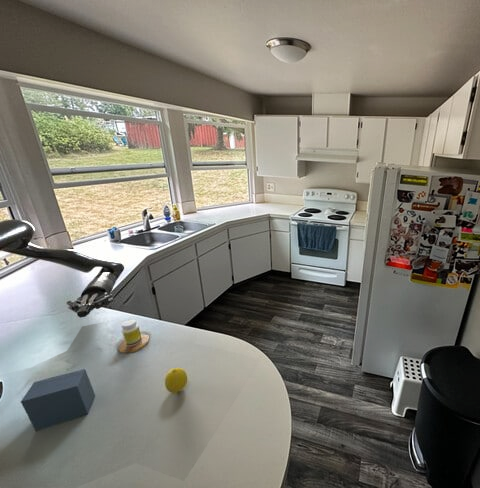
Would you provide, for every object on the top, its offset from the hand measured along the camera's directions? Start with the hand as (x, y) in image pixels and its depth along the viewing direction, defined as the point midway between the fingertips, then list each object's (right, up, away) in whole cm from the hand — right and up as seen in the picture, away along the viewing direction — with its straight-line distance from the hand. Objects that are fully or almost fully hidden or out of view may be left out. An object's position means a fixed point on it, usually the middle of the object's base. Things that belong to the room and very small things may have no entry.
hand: (81, 314), depth 80 cm
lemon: (+35, -21, -7) cm, 41 cm away
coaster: (+9, -14, +10) cm, 19 cm away
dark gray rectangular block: (+10, -22, -14) cm, 28 cm away
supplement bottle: (+9, -13, +10) cm, 19 cm away
